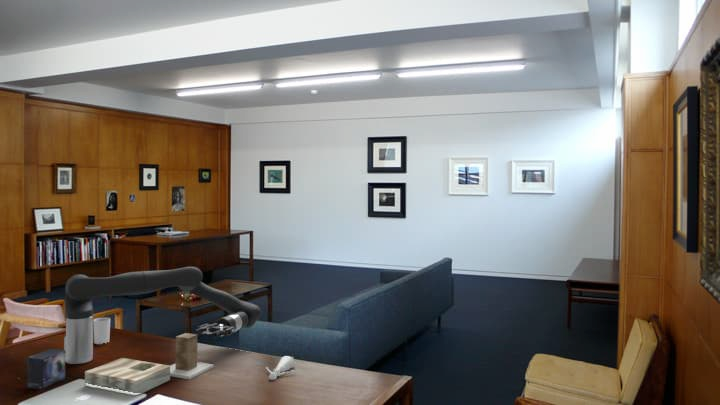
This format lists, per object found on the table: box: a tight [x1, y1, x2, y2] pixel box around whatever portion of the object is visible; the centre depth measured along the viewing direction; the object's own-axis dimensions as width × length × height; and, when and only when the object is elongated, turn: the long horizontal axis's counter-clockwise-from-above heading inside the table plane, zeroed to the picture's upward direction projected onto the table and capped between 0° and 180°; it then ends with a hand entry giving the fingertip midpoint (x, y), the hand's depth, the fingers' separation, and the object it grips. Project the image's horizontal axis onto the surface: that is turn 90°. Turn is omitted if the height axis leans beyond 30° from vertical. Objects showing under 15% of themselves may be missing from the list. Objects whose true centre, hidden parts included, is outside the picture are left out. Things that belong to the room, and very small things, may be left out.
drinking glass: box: [93, 317, 111, 345], centre depth 227 cm, size 7×7×10 cm
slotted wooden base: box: [84, 357, 171, 394], centre depth 180 cm, size 22×16×5 cm
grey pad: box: [169, 361, 215, 380], centre depth 194 cm, size 14×14×1 cm
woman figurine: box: [265, 355, 296, 381], centre depth 194 cm, size 12×4×18 cm
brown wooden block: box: [175, 332, 198, 371], centre depth 194 cm, size 5×5×12 cm
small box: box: [26, 348, 66, 390], centre depth 179 cm, size 11×6×10 cm, turn 168°
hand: (204, 334), depth 203 cm, fingers open, 8 cm apart
